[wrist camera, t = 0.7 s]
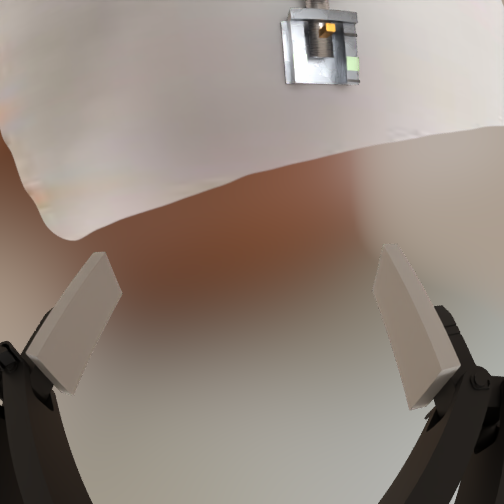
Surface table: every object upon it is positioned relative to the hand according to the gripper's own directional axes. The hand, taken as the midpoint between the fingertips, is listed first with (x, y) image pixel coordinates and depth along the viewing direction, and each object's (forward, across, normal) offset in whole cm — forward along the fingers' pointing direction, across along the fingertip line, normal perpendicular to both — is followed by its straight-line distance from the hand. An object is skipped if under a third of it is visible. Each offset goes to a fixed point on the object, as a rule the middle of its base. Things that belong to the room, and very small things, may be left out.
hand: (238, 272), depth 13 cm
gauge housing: (+25, +8, +12) cm, 28 cm away
